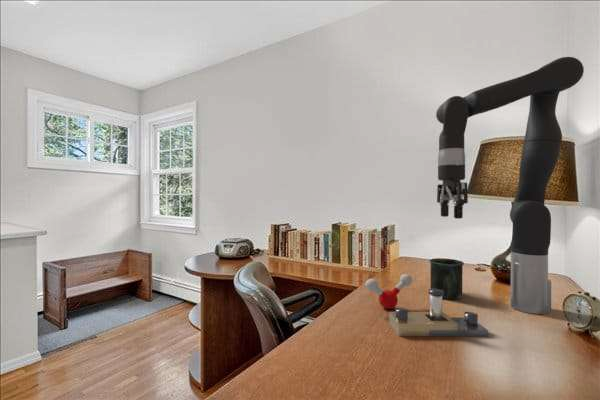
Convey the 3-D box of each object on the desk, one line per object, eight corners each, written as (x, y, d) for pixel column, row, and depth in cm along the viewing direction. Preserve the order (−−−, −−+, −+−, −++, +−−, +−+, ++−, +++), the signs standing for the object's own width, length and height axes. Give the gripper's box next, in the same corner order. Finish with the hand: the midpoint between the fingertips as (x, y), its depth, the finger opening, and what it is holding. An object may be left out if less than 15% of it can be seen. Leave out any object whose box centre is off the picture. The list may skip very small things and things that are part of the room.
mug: (423, 295, 108) (423, 260, 108) (442, 287, 118) (442, 255, 118) (455, 303, 100) (455, 266, 100) (472, 294, 110) (473, 260, 109)
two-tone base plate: (470, 323, 84) (470, 304, 84) (488, 336, 76) (488, 315, 76) (389, 322, 84) (389, 304, 84) (398, 335, 76) (398, 315, 76)
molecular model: (376, 317, 87) (376, 282, 87) (361, 311, 92) (361, 278, 92) (414, 305, 97) (414, 274, 97) (399, 300, 102) (399, 270, 102)
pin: (426, 326, 82) (426, 288, 82) (439, 326, 82) (439, 288, 82) (431, 332, 78) (432, 292, 78) (446, 332, 78) (446, 292, 78)
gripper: (429, 166, 102) (429, 216, 102) (450, 161, 88) (450, 219, 88) (452, 167, 102) (451, 216, 102) (476, 161, 88) (476, 219, 88)
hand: (451, 217), depth 95 cm, fingers open, 8 cm apart
